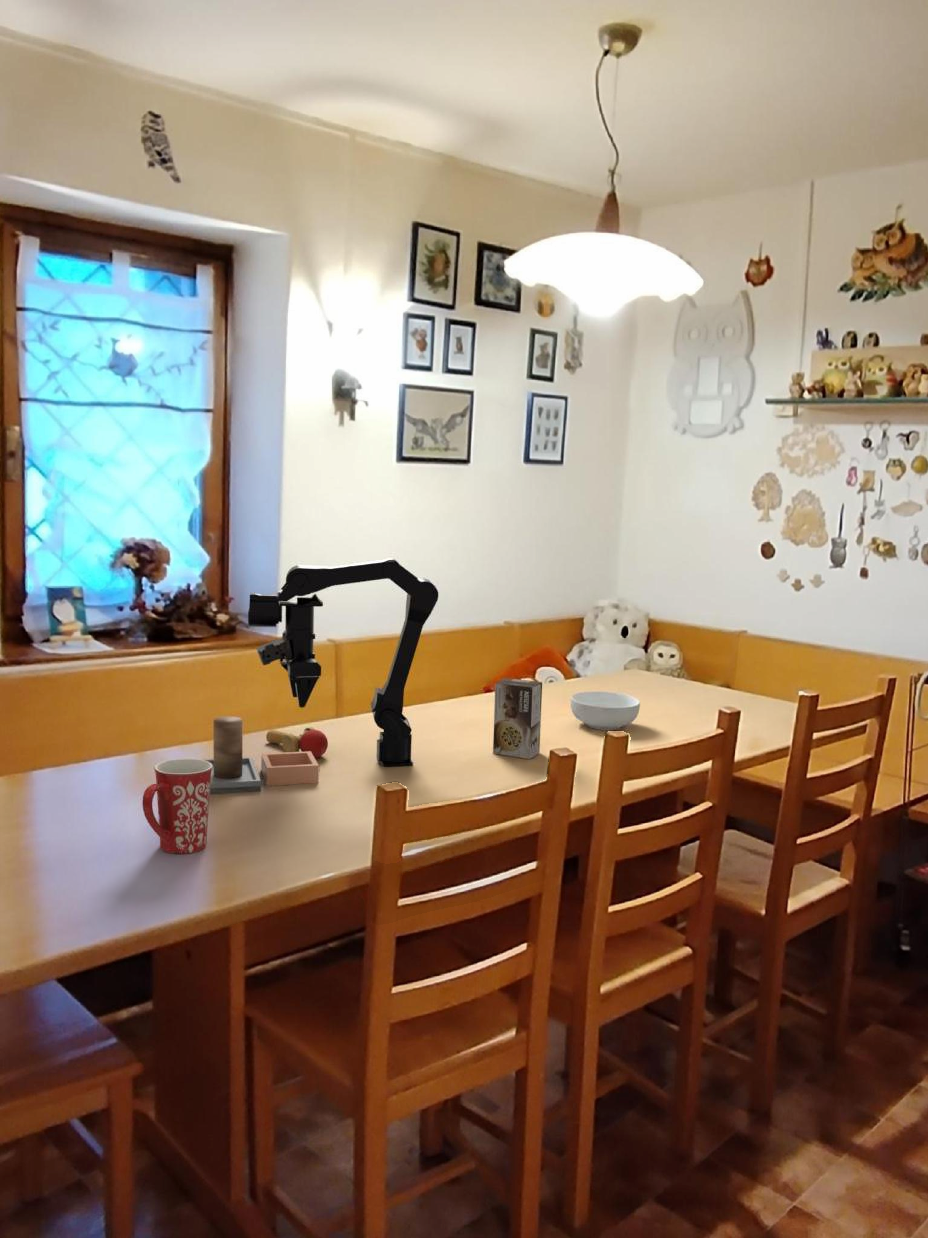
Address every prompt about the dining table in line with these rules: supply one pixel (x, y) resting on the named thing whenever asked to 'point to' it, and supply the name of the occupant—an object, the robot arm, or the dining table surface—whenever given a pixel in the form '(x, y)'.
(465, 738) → the dining table surface
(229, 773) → the walnut peg
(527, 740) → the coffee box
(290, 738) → the kendama
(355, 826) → the dining table surface
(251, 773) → the grey tray
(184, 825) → the mug
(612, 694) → the cereal bowl
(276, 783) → the pink rectangular frame
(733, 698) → the dining table surface
